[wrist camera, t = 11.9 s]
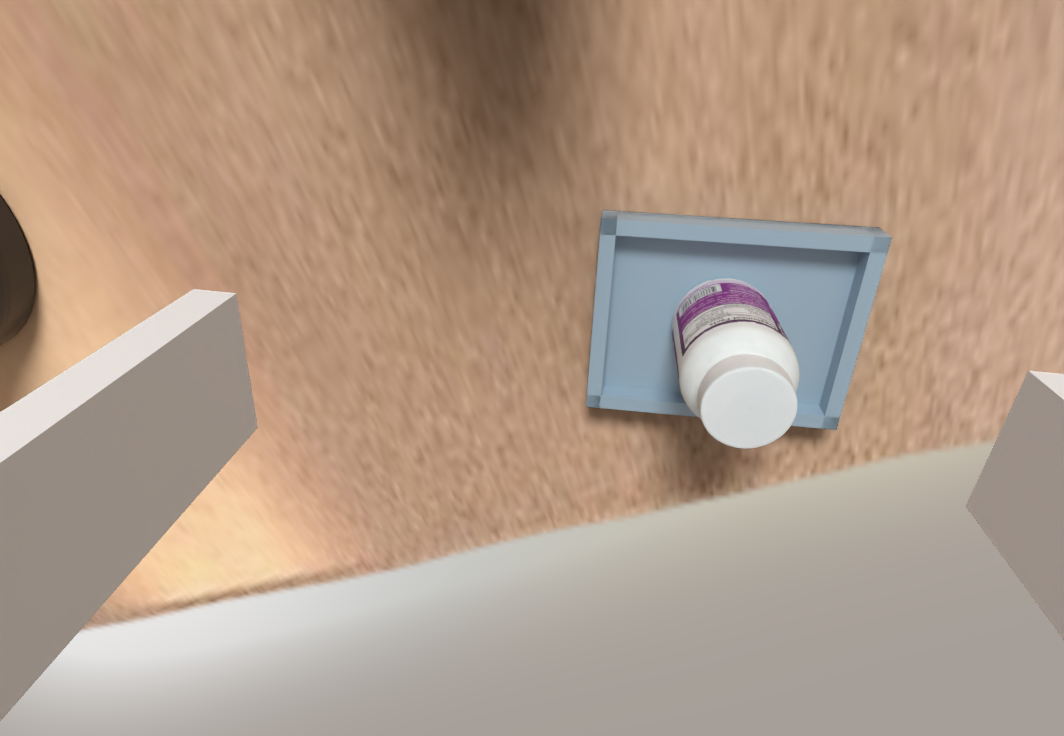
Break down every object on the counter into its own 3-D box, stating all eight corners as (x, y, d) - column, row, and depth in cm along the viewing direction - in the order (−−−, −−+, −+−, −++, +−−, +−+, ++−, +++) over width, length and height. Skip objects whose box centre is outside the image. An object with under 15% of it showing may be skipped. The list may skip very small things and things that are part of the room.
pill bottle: (762, 368, 37) (801, 469, 29) (666, 361, 38) (676, 459, 29) (780, 276, 35) (829, 358, 26) (676, 271, 35) (691, 349, 27)
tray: (587, 391, 40) (586, 406, 38) (602, 210, 35) (601, 218, 33) (827, 413, 39) (836, 429, 37) (879, 227, 34) (891, 237, 32)
